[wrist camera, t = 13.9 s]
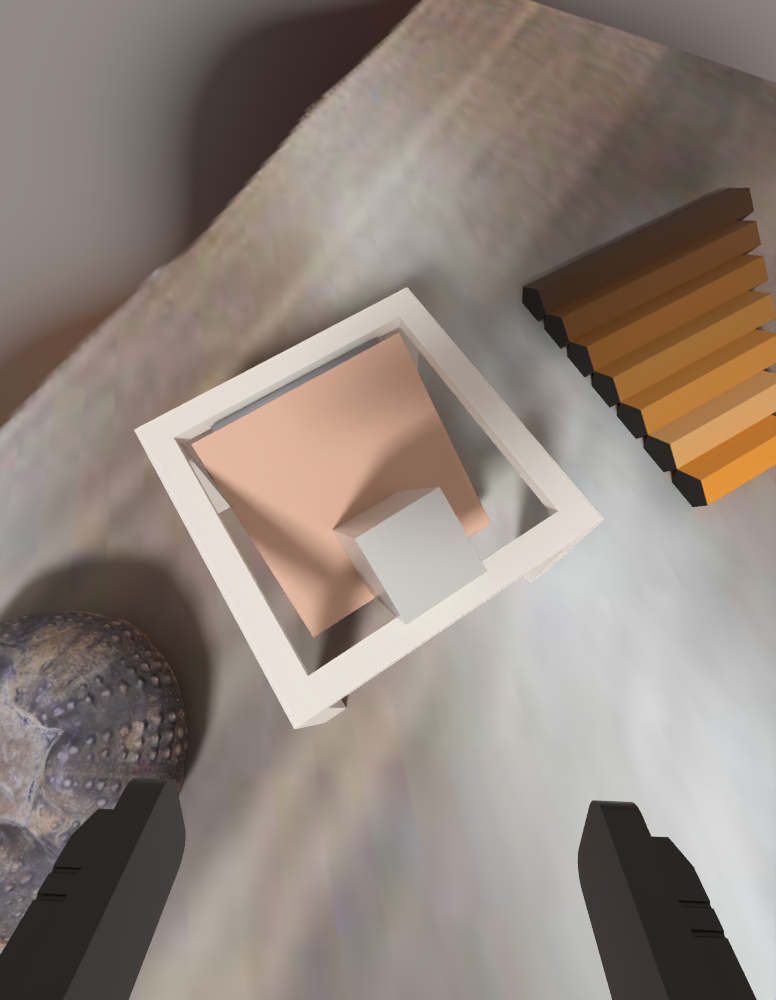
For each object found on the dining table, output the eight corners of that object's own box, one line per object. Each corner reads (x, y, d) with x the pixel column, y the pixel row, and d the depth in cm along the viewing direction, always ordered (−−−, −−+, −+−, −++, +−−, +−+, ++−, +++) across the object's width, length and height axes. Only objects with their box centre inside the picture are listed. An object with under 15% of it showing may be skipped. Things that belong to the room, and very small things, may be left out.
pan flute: (716, 206, 56) (518, 302, 51) (736, 176, 53) (526, 276, 48) (910, 383, 48) (693, 514, 43) (946, 360, 44) (717, 499, 40)
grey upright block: (395, 492, 37) (439, 486, 27) (431, 553, 37) (487, 570, 27) (332, 530, 36) (354, 538, 26) (370, 593, 36) (406, 625, 26)
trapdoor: (391, 328, 36) (396, 326, 35) (484, 520, 40) (490, 523, 39) (188, 437, 33) (187, 438, 32) (311, 631, 37) (313, 637, 36)
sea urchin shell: (-145, 804, 36) (-300, 800, 27) (85, 588, 44) (23, 534, 36) (44, 1011, 31) (-69, 1084, 23) (259, 727, 40) (236, 703, 31)
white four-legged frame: (404, 386, 48) (407, 287, 36) (547, 570, 41) (604, 519, 30) (200, 500, 44) (134, 429, 33) (324, 722, 38) (294, 729, 26)
